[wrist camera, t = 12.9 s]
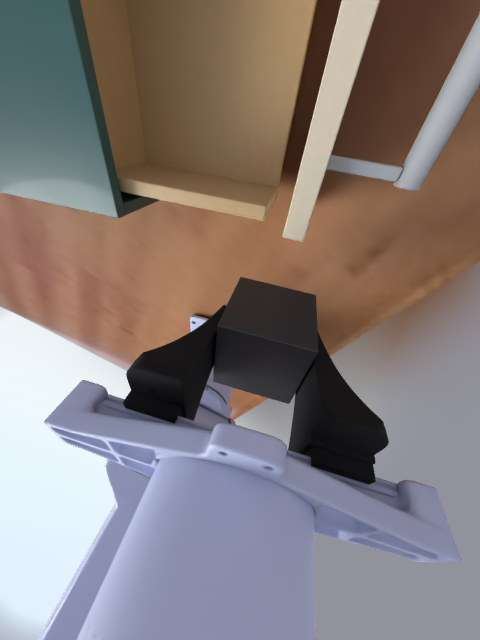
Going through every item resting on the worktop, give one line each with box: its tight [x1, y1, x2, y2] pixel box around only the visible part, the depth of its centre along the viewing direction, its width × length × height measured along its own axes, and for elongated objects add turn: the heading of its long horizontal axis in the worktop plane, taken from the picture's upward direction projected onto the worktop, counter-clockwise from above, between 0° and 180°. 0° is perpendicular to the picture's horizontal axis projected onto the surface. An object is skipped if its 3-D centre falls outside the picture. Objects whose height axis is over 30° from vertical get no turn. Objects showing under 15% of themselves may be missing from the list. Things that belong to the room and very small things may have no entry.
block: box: [213, 277, 318, 404], centre depth 14 cm, size 5×5×5 cm
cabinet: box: [0, 0, 159, 218], centre depth 12 cm, size 14×14×8 cm
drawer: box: [80, 0, 480, 242], centre depth 11 cm, size 18×13×7 cm
